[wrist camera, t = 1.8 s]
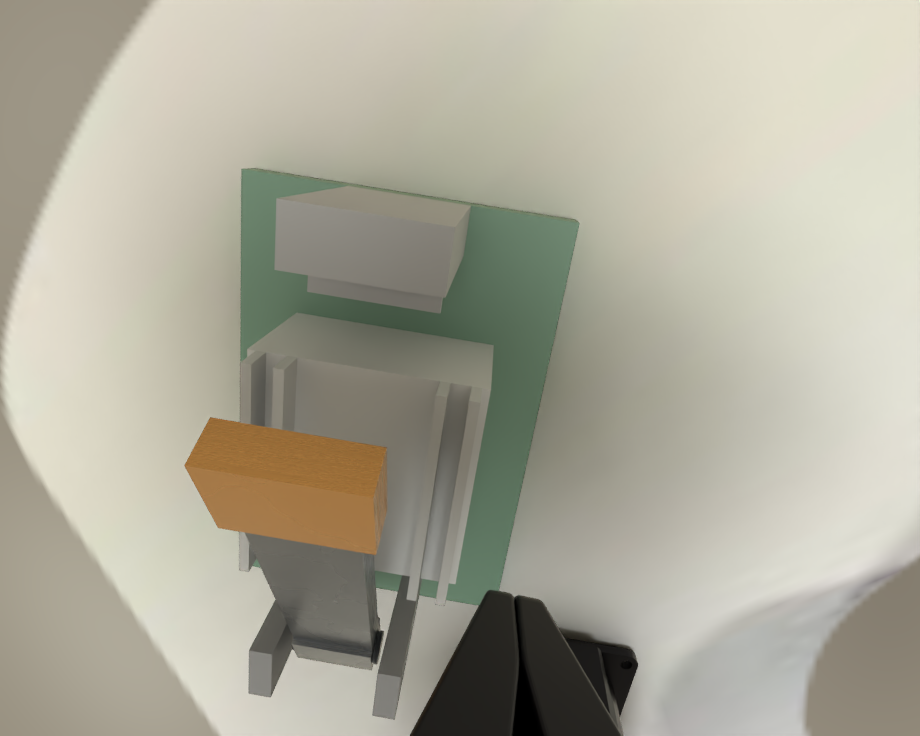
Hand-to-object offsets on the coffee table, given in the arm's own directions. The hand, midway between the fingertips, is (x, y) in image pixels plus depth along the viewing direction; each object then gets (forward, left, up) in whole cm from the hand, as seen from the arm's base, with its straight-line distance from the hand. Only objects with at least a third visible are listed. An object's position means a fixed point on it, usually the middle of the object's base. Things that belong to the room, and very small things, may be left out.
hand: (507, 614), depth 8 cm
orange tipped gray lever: (-4, +4, -5) cm, 7 cm away
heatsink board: (-3, +4, -13) cm, 14 cm away
